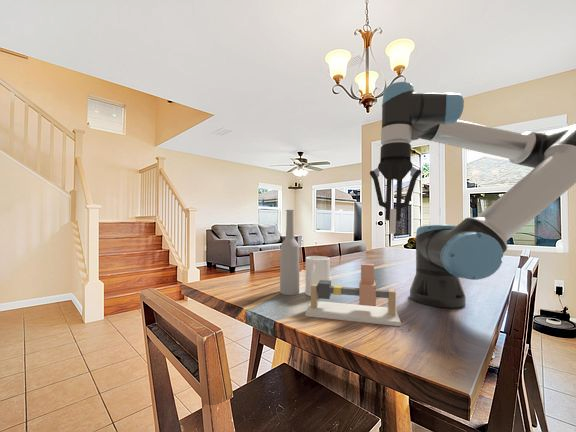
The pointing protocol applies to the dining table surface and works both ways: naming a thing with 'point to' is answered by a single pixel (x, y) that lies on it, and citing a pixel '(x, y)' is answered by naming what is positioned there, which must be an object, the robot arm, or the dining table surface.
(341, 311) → the rail fixture
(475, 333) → the dining table surface
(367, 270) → the sleeve
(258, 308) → the dining table surface
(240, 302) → the dining table surface
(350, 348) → the dining table surface
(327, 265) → the mug
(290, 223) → the bottle
